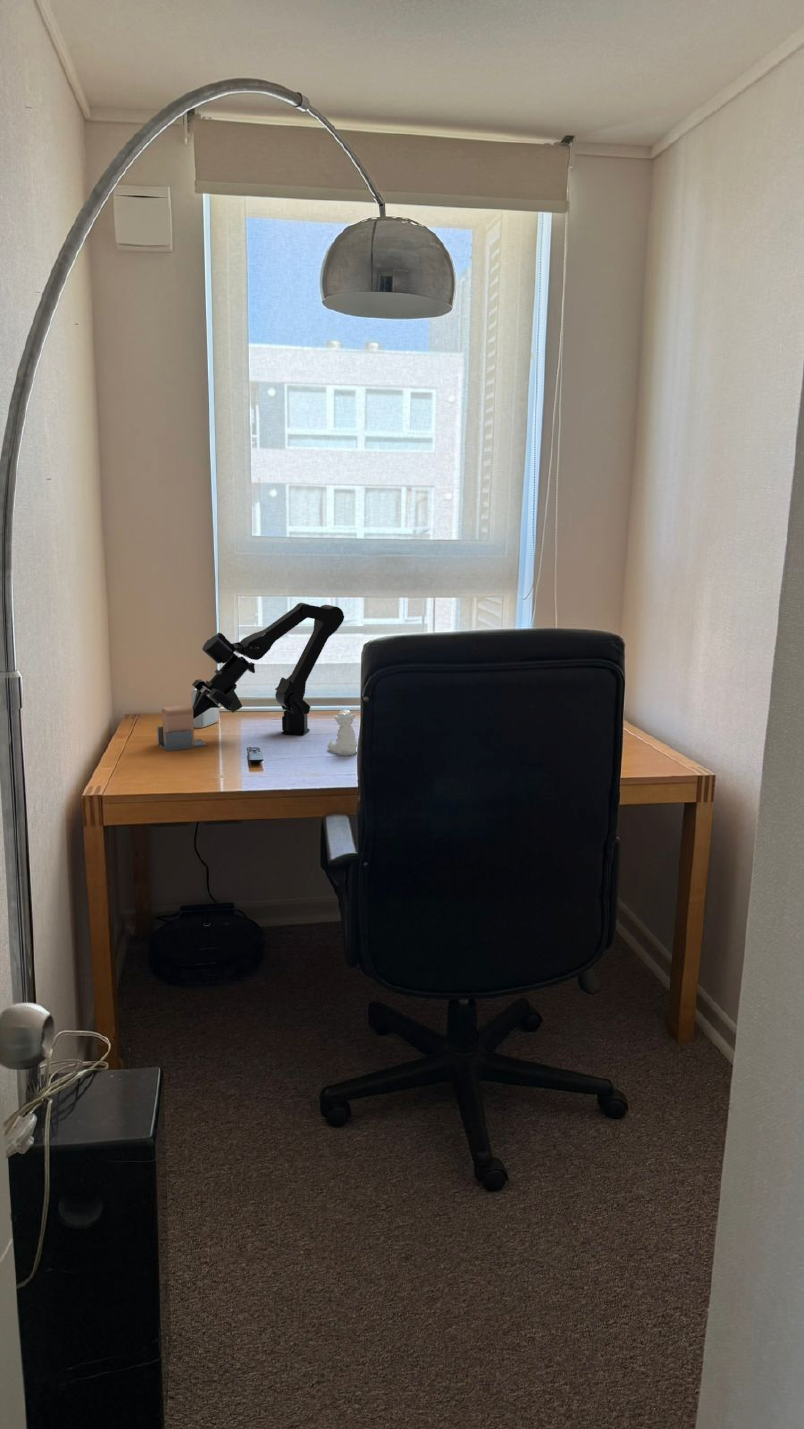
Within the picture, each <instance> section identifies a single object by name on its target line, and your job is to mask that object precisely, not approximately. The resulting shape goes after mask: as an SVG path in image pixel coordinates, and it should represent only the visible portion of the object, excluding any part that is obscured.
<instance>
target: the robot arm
mask: <svg viewBox="0 0 804 1429" xmlns="http://www.w3.org/2000/svg"><path fill="white" fill-rule="evenodd" d="M306 619H312V620H314V621H313V630H312V633H311V635H310V637H309V639H308V641H307V643H306V645H305V646H304V649H303V651H302V653H301V655H300V656H299V659H298V661H297V663H296V665H295V666H294V669H293V670H292V673H291V674H290V676H288V677H287V678H285V677H281V678H280V680H279V683H278V685H277V687H276V688H275V694H274V695H275V699H276V702H277V703H278V704H279V705H280V706H281V710H283V715H282V717H281V730H282V732H281V734H282V735H294V736H295V735H296V736H304V735H305V734H306V733H308V732H310V728H308V715H309V713H310V710H311V706H310V705H309V704H308V702H306V701H305V700H304V697H305V694H306V686H307V685H306V684H307V682H308V679H309V676H310V674H311V673H312V671H313V669H314V667H315V665H316V663H317V661H318V659H319V658H320V655H321V653H322V651H323V649H324V648H325V645H326V643H327V641H328V639H329V638H330V637H331V636H332V635H334V634H335V633H336V632H337V631H338V629H339V628H340V627H341V625H342V624H343V622H344V619H345V615H344V611H343V609H341V608H340V607H339V606H336V605H330V604H323V605H320V606H316V605H312V604H309V603H305V602H299V603H297V604H296V605H295V606H294V607H293V608H292V609H290V610H289V611H287V612H286V613H284V614H283V615H282V616H281V617H279V618H278V619H276V620H275V621H274V622H272V623H271V624H270V625H268V626H267V627H266V628H264V629H263V630H260V631H257V632H253V633H252V634H250V635H247V636H246V637H244V638H242V639H241V640H240V641H238V642H237V641H236V642H234V643H231V641H229V640H228V639H227V638H226V636H225V635H224V634H223V633H222V632H218V633H217V634H215V635H213V636H212V637H211V638H210V639H207V640H206V642H205V643H204V644H203V646H202V651H203V653H205V654H206V655H207V656H208V657H209V658H210V659H212V660H213V661H214V662H215V663H216V664H217V665H219V664H223V665H222V667H220V669H216V670H215V671H214V676H212V677H211V679H210V680H206V681H204V680H202V679H196V680H194V682H192V684H191V686H192V687H193V688H194V689H195V688H196V689H197V693H196V697H195V701H194V704H193V719H194V718H196V717H197V716H199V715H200V714H202V713H203V712H205V711H207V710H208V709H210V708H219V709H220V705H221V706H222V707H223V709H225V710H226V711H229V712H230V711H231V713H235V712H237V711H238V710H240V709H242V708H243V705H242V702H241V700H240V699H239V697H238V695H237V693H236V691H235V690H237V684H236V683H237V682H239V680H240V679H241V677H243V675H244V674H245V673H246V672H247V671H248V672H250V673H252V674H255V673H256V669H255V668H256V667H255V665H256V663H254V662H252V661H253V660H254V661H258V660H260V659H262V658H263V657H264V656H265V655H266V654H267V653H268V652H269V651H270V650H271V648H272V646H273V645H274V644H275V643H276V641H278V640H279V639H281V638H282V637H283V636H285V634H287V633H289V632H290V631H291V630H293V629H294V628H295V627H297V626H298V625H300V624H301V623H302V622H304V621H305V620H306ZM236 653H237V654H238V655H241V656H238V655H237V654H236ZM246 658H247V659H250V660H252V661H251V662H249V661H248V660H247V659H246ZM218 705H219V706H218Z"/></svg>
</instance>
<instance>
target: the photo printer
mask: <svg viewBox="0 0 804 1429" xmlns="http://www.w3.org/2000/svg"><path fill="white" fill-rule="evenodd" d="M196 693H197V689H196V688H195V687H194V689H193V690H192V692H191V694H190V695H191V708H193V704H194V701H195V697H196ZM218 706H219V707H220V704H219V705H218ZM219 721H220V708H210V709H208V710H207V711H205V712H203V713H202V714H200V715H199V716H197V717H196V718H194V719H193V722H194V728H195V729H204V728H206V727H209V726H211V725H213V724H215V723H217V722H219Z"/></svg>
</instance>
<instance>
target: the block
mask: <svg viewBox="0 0 804 1429" xmlns="http://www.w3.org/2000/svg"><path fill="white" fill-rule="evenodd" d="M161 714H162V715H161V716H162V726H163V738H164V744H165V735H164V732H172V731H181V730H191V731H192V745H194V740H195V729H194V728H195V727H194V722H193V708H192V706H190V705H188V704H187V705H175V706H164V707H161Z"/></svg>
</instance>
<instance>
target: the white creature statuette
mask: <svg viewBox="0 0 804 1429" xmlns="http://www.w3.org/2000/svg"><path fill="white" fill-rule="evenodd" d="M333 717H334V720H335V721H336V722H337V725H338V726H339V728H338V730H337V734H336V736H337V738H336V741H334V740H333V741H331V742H329V743H328V744H327V750H328V751H329V752H331V753H334V754H336V755H339V756H346V757H348V756H347V755H349V756H353V754H354V755H356V747H357V741H358V740H356V733H355V730H354V727H353V726H352V724H353V722H354V719H355V718H356V713H352V712H351V710H349V709H343V710H342V709H341V710H340V711H338V713H337V714H336V715H333Z"/></svg>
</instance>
